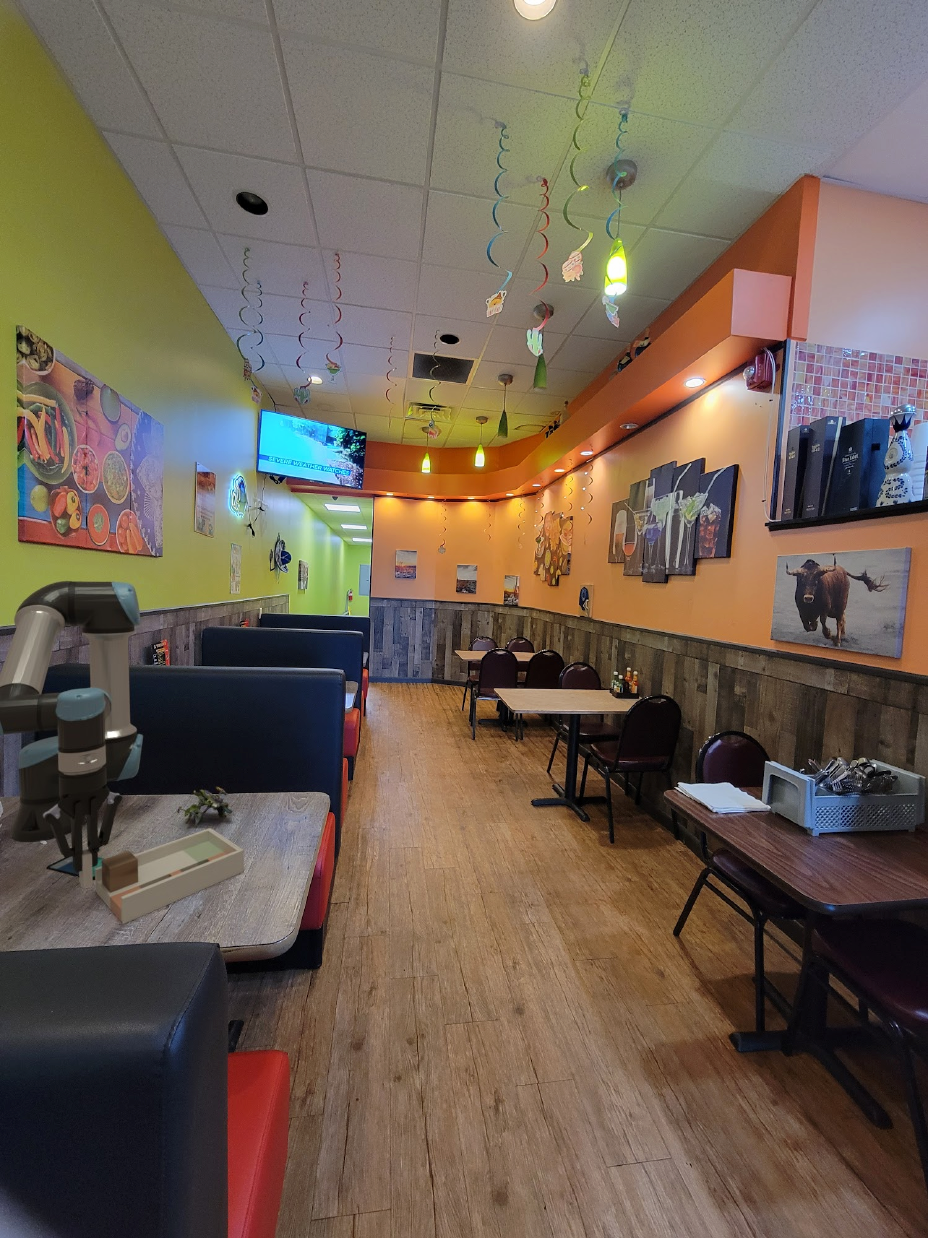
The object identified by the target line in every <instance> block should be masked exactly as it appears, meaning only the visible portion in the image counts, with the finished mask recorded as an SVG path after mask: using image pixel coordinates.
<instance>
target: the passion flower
mask: <svg viewBox="0 0 928 1238" xmlns="http://www.w3.org/2000/svg"><path fill="white" fill-rule="evenodd" d="M215 789H216V790H217V791H218V792H219V793H218V794H215V795H214V794H213V793H212V792H210V791H209V790H206V789H204V790H203V789H200V790H199V792H196V790H194V791H193V794H194V796H196V797H197V798H198V804H196V803H193V804H191V806H190V807H188V808H186V809H183V808H182V807H183V806H178V808H177V809H176V810H177V811H176V812H177V813H178V814H180V811H184V817H187V816H188V818H186V820H185V824H186V825H187V824H188V822H189V820H190V818H192V817H194V819H195V824H194V826H193V829H195V828H196V827H197V824H198V823H199V822H200V821H201V820H202V819H203V817H204V815H205V814H206V813H207V811H208V810H210V808H212V810H214V811H217V814H218V816H219V818H221V819H222V818H225V819H226V818H227V814H230V815H231V814H232V813H233V810H232V809H230V805H229V802H227V801H224V798H222V797H220V796H221V795H224V796H227V795H229V794H228V793H227V792H226V791H225V790H224V789H223V788H221V787H219V786H215ZM204 806H206V808H205V809H204V811H203V812H201V809H202V807H204ZM226 813H227V814H226Z"/></svg>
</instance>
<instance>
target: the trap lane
mask: <svg viewBox="0 0 928 1238" xmlns="http://www.w3.org/2000/svg"><path fill="white" fill-rule="evenodd" d="M244 852H245V851H244V849H243V848H241V847H240V846H238V845H236V844H235V843H233V842H232V841H231V840H229V839H228V838H226V837H224V835H222V834H220V833H219V832H217V831H216V830H214V829H212V827H209V828H207V829H204V830H200V831H198V832H195V833H192V834H190V835H187V836H184V837H181V838H177V839H175V840H173V841H169V842H167V843H164V844H161V845H158V846H155V847H153V848H149V849H146V850H144V851H141V852H139V853H135V854H133V855H134V856H135V857H136V858H137V859H138V882H137V883H135V884H132V885H129V886H127V887H124V888H122V889H119V890H117V891H114V892H111V893H110V892H109V891H108V889H107V888H106V887H105V886H104V885H103V884H102V866H101V867H98V868H95V880H94V881H95V882H94V884H95V887H94V888H95V889H94V891H95V893H96V892H97V893H96V894H97V895H98V896H99V897H100V899H101V900H102V901H103V902H104V903H105V904H106V906H107V907H108V908H109V910H111V911H112V912H113V914H114V915H115V916H116V917H117V918H118V920H119V921H120V922H121V923H122V924H123V925H125V924H127V923H129V922H132V921H133V920H136V919H138V918H141V917H144V916H145V915H148V914H149V913H152V912H154V911H157V910H158V909H161V908H164V907H166V906H168V905H170V904H173V903H175V902H177V901H179V900H181V899H184V898H186V897H188V896H190V895H193V894H195V893H197V892H200V891H202V890H204V889H207V888H210V887H211V886H213V885H216V884H218V883H220V882H221V883H222V882H223V881H225V880H228V879H230V878H233V877H234V876H237V875H239V874H241V873H243V872H244V871H245V870H244V869H245V863H244V862H245V859H244V858H245V856H244V855H245V854H244Z"/></svg>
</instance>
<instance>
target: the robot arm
mask: <svg viewBox="0 0 928 1238" xmlns="http://www.w3.org/2000/svg"><path fill="white" fill-rule="evenodd" d="M136 591H137V590H136V588H135V586H134V585H133V584H131V583H129V582H121V581H79V580H78V581H76V580H75V581H73V580H64V581H63V580H62V581H56V582H53V583H49V584H46V585H45V586H42V587H41V588H39V589H37V590H35V591H34V592H32V593H31V594H29V596H27V597H26V598H25V599H23V601H22V602H21V603H20V605H19V606H18V608H17V610H16V613H15V615H14V617H13V623H14V624H15V627H16V629H15V632H14V633H13V634H14V635H13V637H12V640H11V642H10V645H9V648H8V652H7V655H6V657H5V661H4V663H3V665H2V668H1V672H0V736H5V735H12V734H22V733H33V732H34V733H35V732H43V731H46V732H47V731H56V730H57V735H56V736H51V737H47V738H43V739H40V740H37V741H34V742H32V743H28V744H27V745H25V746H24V747H23V748H22V749H20V751H19V753H18V765H17V769H18V784H19V785H18V786H19V807H18V809H17V811H16V815H15V817H14V819H13V820H14V821H13V822H12V826H11V837H12V839H13V840H15V841H19V842H38V841H43V840H49V839H53V838H54V839H55V841H56V844H57V847H58V849H59V852H60V853H61V855H62V856H63V858H68V857H73V869H74V871H75V872H76V873H77V872H79V877H78V880H79V885H81V887H82V888H83V889H86V888H89V887H92V886H93V885H94V884H93V881H94V880H93V879H92V867H94V866H97V864H98V857H99V855H98V853H99V852H100V850H101V849H100V848H101V847H104V846H107V845H108V844H109V842H110V840H111V839H110V838H111V834H112V830H113V825H114V821H115V817H116V814H117V810H118V807H119V805H120V804H121V802H122V801H123V796H122V795H121V794H120V793H118V792H112V791H111V790H110V789H109V787H108V785H107V782H114V781H116V782H119V781H120V780H127V779H132V778H134V777H135V776H136V775H137V774H138V773H139V768H140V763H141V762H140V761H141V756H142V755H141V754H142V747H143V739H144V735H143V734H140V733H138V732H137V731H138V730H137V727H136V726H134V725H133V724H132V723H131V712H130V711H131V709H130V708H131V707H130V706H131V705H130V704H131V703H130V700H131V699H130V667H129V665H130V664H129V637H131V636H132V635H133V634H134V633H135V626H136V627H138V626H140V625H141V623H142V621H141V619H142V618H141V613H140V606H139V601H138V595H137V592H136ZM64 627H81V634H82V635H83V636H85V637H86V638H87V639H88V642H89V671H90V673H89V675H90V676H89V677H90V687H87V688H86V687H85V688H75V689H70V690H69V689H68V690H67V691H66V690H65V691H63V692H54V693H53V692H52V693H42V691H43V688H44V685H45V680H46V677H47V673H48V669H49V665H50V662H51V658H52V654H53V650H54V648H55V647H54V645H55V643H56V639H57V635H58V634H59V633H61V632H62V631H63V630H64ZM105 801H106V805H105V809H104V813H103V815H102V816H103V817H102V820H101V821H102V822H101V824H100V829H99V825H98V823H99V822H98V818H99V810H100V809H101V808H102V805H103V804H104V803H105ZM85 823H86V837H87V838H86V843H87V844H86V845H87V848H86V849H83V848H84V847H83V825H84V824H85ZM69 833H71V834H70V836H71V837H70V839H71V843H70V844H71V847H70V845H69V842H68V840H67V837H66V835H67V834H69Z"/></svg>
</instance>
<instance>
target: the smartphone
mask: <svg viewBox="0 0 928 1238" xmlns="http://www.w3.org/2000/svg"><path fill="white" fill-rule="evenodd" d="M104 859H105V858H102V857H99V856H98V864H97V866H94V867H92V879H93V881H95V868H98V867H101V866H102V860H104ZM45 868H46V869H47V870H50V871H54V872H56V873H57V872H58V873H62V874H65V875H69V876H72V877H76V876H78V877H77V878H79V872H77V873H76V872H75V871H74V869H73V857H68V858H65V857H63V858H60V859H59V860H57V861H55V862H52V863H50V864H49V865H46V867H45Z"/></svg>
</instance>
